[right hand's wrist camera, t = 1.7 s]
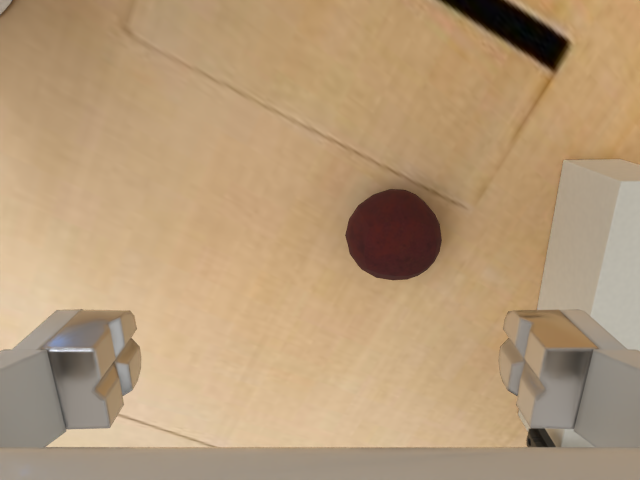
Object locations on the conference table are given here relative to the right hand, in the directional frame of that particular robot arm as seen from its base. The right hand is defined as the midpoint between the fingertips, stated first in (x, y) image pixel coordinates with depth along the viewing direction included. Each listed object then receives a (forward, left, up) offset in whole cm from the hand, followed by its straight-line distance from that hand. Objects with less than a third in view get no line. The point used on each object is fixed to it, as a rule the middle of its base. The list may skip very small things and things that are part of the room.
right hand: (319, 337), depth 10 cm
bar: (+16, +24, -30) cm, 41 cm away
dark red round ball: (+7, +6, -30) cm, 32 cm away
